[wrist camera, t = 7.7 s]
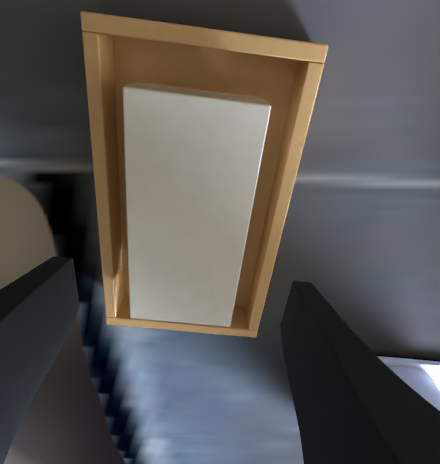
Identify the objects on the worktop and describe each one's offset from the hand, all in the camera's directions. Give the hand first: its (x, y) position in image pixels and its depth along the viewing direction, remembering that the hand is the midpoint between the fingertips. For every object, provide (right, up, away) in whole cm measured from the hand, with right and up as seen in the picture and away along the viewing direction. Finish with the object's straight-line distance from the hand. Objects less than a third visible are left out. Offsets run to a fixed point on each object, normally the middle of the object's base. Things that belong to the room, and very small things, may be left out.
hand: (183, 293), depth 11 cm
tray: (0, +4, +6) cm, 8 cm away
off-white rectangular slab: (0, +4, +6) cm, 7 cm away
